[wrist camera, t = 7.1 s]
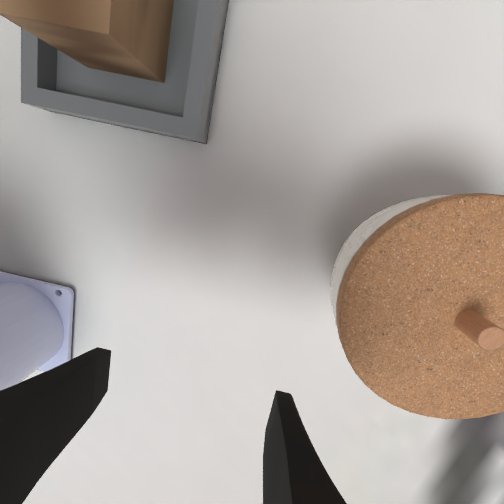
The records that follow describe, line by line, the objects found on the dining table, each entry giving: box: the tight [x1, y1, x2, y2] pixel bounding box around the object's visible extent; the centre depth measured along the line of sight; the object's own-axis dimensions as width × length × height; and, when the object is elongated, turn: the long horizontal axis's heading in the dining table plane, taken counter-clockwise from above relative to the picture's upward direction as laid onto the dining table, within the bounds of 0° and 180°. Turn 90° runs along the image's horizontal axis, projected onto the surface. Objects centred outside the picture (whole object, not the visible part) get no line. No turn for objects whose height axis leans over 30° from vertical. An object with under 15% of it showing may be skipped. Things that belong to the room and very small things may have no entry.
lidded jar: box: [331, 193, 504, 419], centre depth 15 cm, size 11×11×9 cm
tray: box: [21, 0, 229, 144], centre depth 17 cm, size 11×11×2 cm
